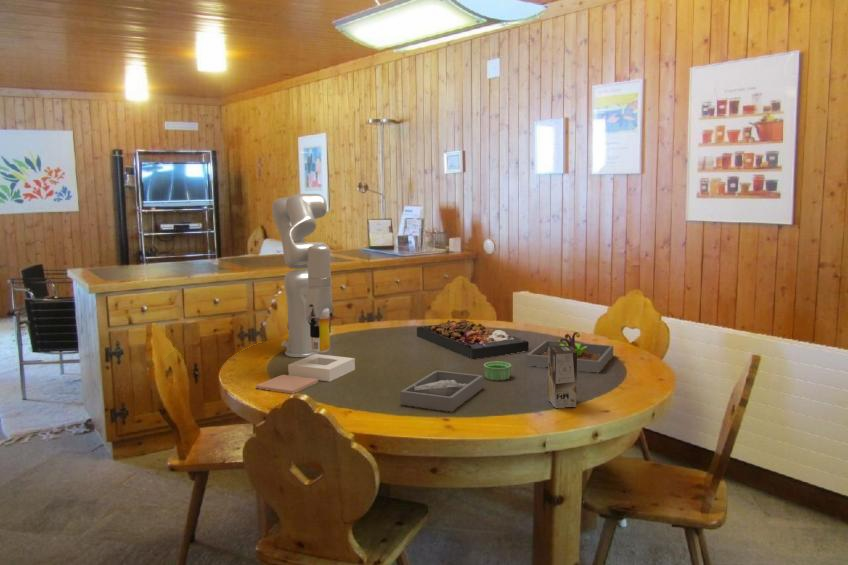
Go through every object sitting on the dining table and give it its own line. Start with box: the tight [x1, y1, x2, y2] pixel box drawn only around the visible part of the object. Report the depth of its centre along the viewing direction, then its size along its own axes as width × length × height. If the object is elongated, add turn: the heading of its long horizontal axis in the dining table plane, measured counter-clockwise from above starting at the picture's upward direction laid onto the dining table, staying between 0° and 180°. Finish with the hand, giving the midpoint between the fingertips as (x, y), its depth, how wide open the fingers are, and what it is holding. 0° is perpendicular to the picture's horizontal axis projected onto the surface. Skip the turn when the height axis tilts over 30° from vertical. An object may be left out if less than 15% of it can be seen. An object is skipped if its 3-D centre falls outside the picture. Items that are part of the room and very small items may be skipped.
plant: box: [541, 331, 601, 361], centre depth 250 cm, size 20×20×11 cm
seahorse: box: [412, 380, 467, 397], centre depth 211 cm, size 5×12×20 cm
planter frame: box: [525, 339, 614, 374], centre depth 251 cm, size 25×25×4 cm
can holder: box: [287, 353, 356, 382], centre depth 238 cm, size 16×16×4 cm
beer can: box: [312, 308, 331, 354], centre depth 237 cm, size 6×6×15 cm
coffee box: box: [547, 346, 578, 409], centre depth 202 cm, size 9×6×16 cm
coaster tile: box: [255, 374, 319, 395], centre depth 224 cm, size 14×14×1 cm
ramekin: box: [483, 360, 512, 381], centre depth 231 cm, size 9×9×4 cm
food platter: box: [416, 318, 530, 360], centre depth 280 cm, size 45×25×10 cm, turn 27°
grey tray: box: [399, 370, 484, 413], centre depth 211 cm, size 16×25×4 cm, turn 155°
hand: (320, 334), depth 238 cm, fingers closed on beer can, 6 cm apart
